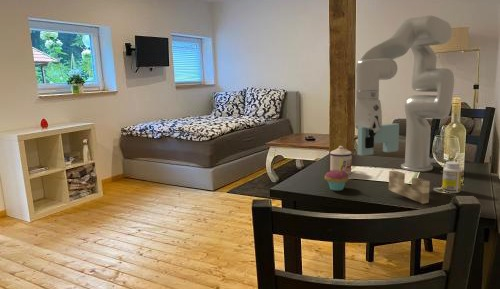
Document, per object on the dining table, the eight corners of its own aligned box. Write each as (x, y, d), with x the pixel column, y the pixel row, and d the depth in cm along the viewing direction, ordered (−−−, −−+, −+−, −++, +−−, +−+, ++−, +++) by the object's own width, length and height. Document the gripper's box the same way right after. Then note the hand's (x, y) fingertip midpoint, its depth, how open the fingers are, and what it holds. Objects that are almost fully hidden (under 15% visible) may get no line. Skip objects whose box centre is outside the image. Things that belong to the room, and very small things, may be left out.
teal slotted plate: (393, 149, 138) (394, 123, 137) (398, 150, 136) (399, 124, 134) (357, 154, 133) (357, 127, 132) (361, 155, 131) (361, 127, 129)
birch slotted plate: (388, 189, 133) (389, 171, 131) (394, 189, 133) (394, 170, 132) (422, 203, 118) (423, 182, 116) (428, 202, 118) (429, 181, 117)
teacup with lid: (343, 177, 151) (343, 149, 149) (325, 173, 158) (325, 146, 156) (360, 171, 159) (360, 144, 157) (342, 168, 166) (342, 142, 164)
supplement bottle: (453, 188, 132) (455, 160, 130) (463, 193, 127) (465, 163, 125) (438, 189, 131) (440, 161, 130) (448, 194, 126) (450, 164, 124)
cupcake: (344, 185, 140) (345, 154, 138) (351, 191, 132) (352, 159, 130) (322, 186, 140) (322, 155, 138) (327, 192, 132) (327, 160, 129)
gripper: (392, 95, 123) (390, 150, 126) (362, 94, 138) (361, 142, 141) (373, 97, 121) (372, 152, 124) (345, 95, 136) (345, 144, 139)
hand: (366, 146), depth 133 cm, fingers closed on teal slotted plate, 2 cm apart
